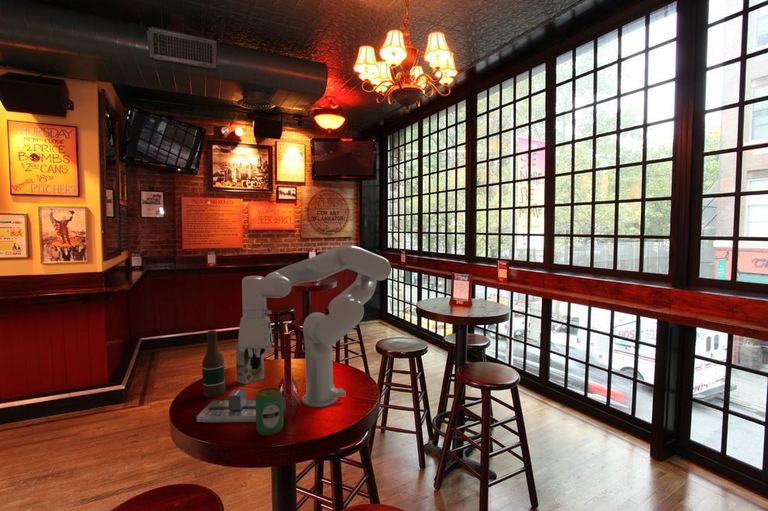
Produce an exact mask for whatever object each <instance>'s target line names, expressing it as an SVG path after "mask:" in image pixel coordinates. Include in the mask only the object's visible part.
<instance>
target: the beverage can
mask: <svg viewBox="0 0 768 511" xmlns="http://www.w3.org/2000/svg"><path fill="white" fill-rule="evenodd" d="M254 400H255V402H256V422H255V424H256V425H255V427H256V430H257V433H258V434H259V435H260V436H261V435H262V436H272V435H275V434H276V435H277V434H278V433H279V432H281V431H282V429H283V427H284V402H283V393H282V391H281V389H280V388H279V387H275V386H272V387H271V386H270V387H264V388H261V389H259V390H258V391H257V392H256V395H255V398H254Z"/></svg>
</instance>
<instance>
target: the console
mask: <svg viewBox="0 0 768 511" xmlns="http://www.w3.org/2000/svg"><path fill="white" fill-rule="evenodd" d="M197 422H203V423H256V402H255V399H251V400H250V399H249V400H248V399H246V404H245V405H244V407H243V408H242V409H241V410H229V404H228V400H211V401H210V403H208V405H206V407H204V409H202V410H201V412H199V414H197V415H196V423H197Z"/></svg>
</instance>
